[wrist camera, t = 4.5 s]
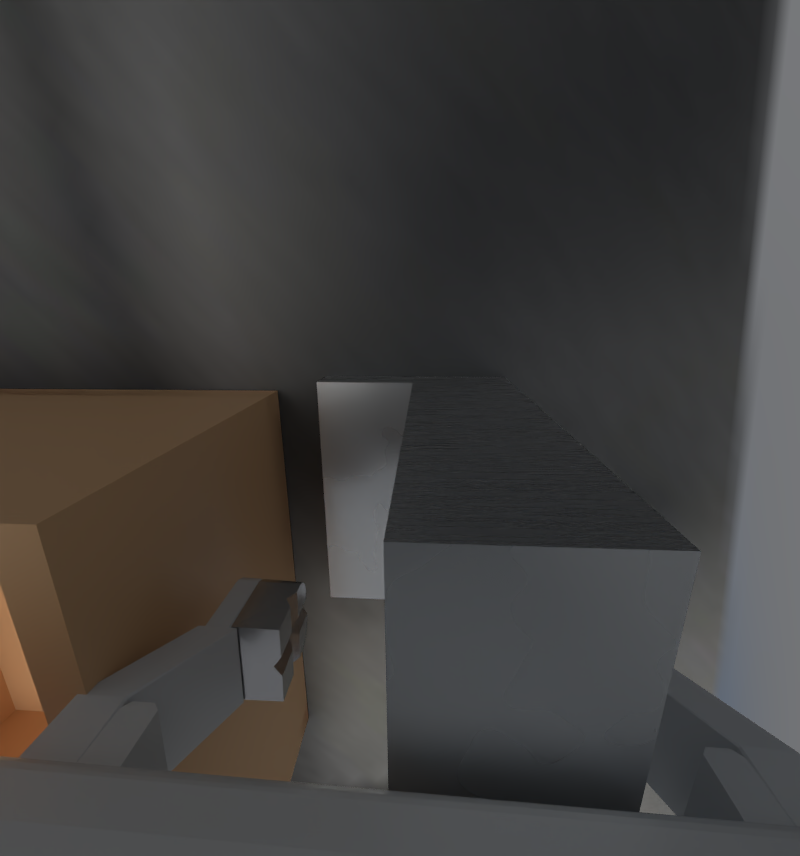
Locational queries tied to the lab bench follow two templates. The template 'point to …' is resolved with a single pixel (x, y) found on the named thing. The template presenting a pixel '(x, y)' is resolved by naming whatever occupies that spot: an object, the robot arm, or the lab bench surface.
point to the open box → (137, 550)
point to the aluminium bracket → (502, 590)
